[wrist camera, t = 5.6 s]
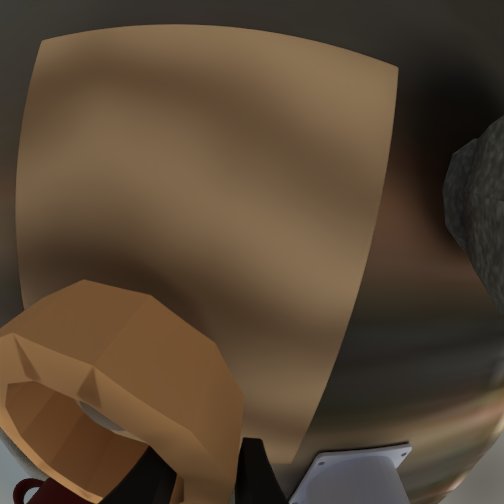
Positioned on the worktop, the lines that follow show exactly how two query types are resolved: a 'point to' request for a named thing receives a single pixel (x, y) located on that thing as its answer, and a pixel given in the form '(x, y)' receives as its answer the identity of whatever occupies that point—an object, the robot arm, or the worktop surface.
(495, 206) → the mortar and pestle
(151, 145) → the shelf plate
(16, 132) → the worktop surface
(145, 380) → the orange notched ring
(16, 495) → the mug
